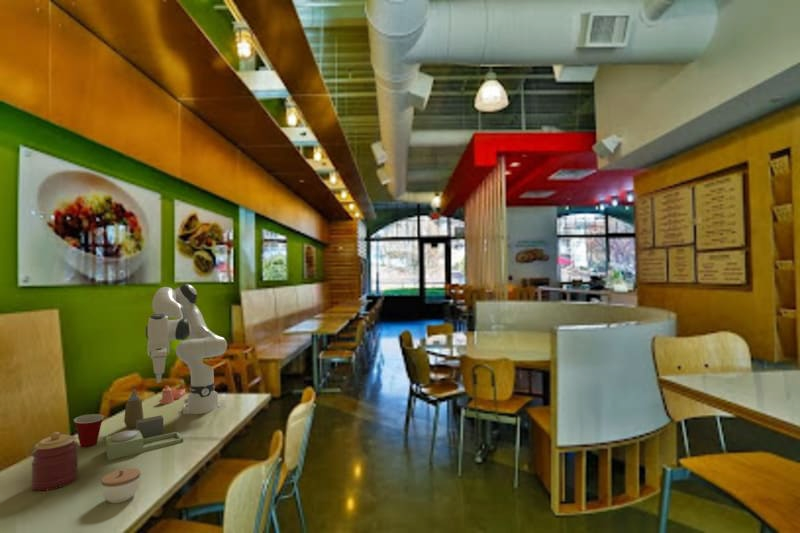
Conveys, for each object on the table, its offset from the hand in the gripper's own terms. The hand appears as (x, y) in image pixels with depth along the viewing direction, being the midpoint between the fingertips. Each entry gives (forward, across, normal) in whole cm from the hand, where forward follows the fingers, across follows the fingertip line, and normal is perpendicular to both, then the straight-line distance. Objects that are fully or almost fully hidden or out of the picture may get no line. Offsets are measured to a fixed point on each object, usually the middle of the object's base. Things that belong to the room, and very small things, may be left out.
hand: (158, 380), depth 195 cm
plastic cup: (+25, -4, -26) cm, 36 cm away
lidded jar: (+26, +58, -12) cm, 64 cm away
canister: (+26, +31, -32) cm, 52 cm away
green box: (+25, +13, -7) cm, 29 cm away
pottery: (+24, -61, +8) cm, 66 cm away
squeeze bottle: (+25, -20, -10) cm, 33 cm away
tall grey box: (+25, -1, -4) cm, 25 cm away
